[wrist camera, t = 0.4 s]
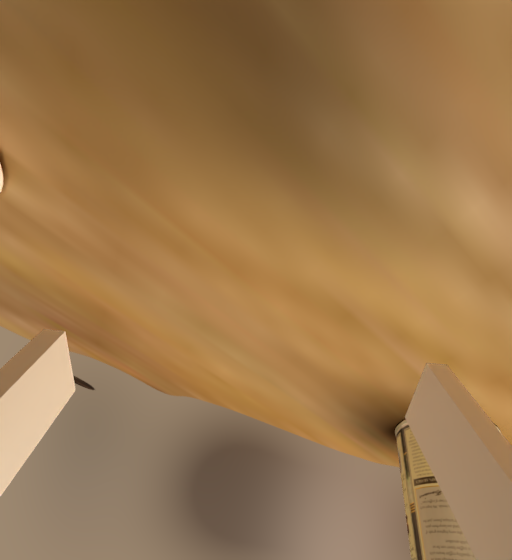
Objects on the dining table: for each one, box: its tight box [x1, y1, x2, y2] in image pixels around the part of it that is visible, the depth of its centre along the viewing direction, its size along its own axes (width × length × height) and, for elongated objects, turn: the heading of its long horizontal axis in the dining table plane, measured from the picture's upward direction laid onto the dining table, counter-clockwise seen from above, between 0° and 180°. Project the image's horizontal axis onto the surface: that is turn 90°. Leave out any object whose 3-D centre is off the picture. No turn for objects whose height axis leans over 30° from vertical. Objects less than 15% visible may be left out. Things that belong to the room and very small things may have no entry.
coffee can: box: [395, 420, 502, 560], centre depth 30 cm, size 10×10×14 cm
